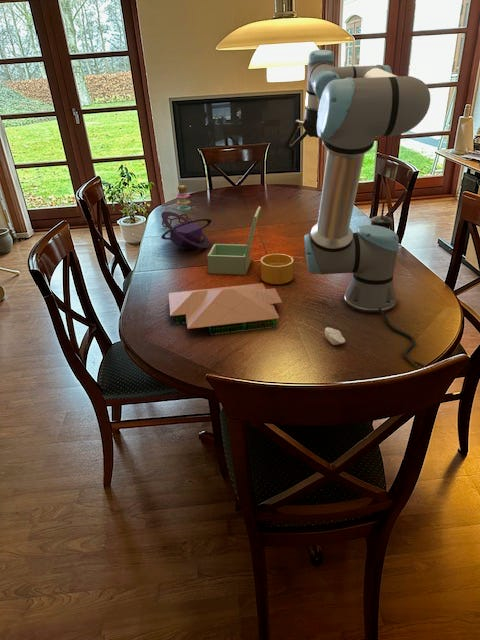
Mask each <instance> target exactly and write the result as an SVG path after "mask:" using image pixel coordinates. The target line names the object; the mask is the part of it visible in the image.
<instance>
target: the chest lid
mask: <svg viewBox="0 0 480 640" xmlns="http://www.w3.org/2000/svg"><path fill="white" fill-rule="evenodd" d="M261 208H262V207H261V206H258V207H257V209H256V211H255V213H254V215H253V220H252V223H251V227H250V231H249V235H248V238H247V243H246V245H247V247H246V251H245V256H247V253H248V251H249V248H250V249H251V246H252V242H253V238H254V235H255V231H256V227H257V223H258V220H259V217H260V213H261V212H260V211H261Z"/></svg>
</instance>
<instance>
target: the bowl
mask: <svg viewBox="0 0 480 640" xmlns="http://www.w3.org/2000/svg"><path fill="white" fill-rule="evenodd" d="M294 263H295V259H294V258H293V256H290V255H288V254H284V253H270V254H266V255H264V256H262V257H261V258H260V279H261V280H262V281H263V282H264V283H267V284H270V285H283V284H287V283H290V282H291V281H292V280H293V279H294V265H295V264H294Z"/></svg>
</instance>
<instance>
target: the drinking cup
mask: <svg viewBox="0 0 480 640" xmlns="http://www.w3.org/2000/svg"><path fill="white" fill-rule="evenodd" d="M385 204H386V202H385V201H383V202H382V206H381V213H380V214H379V215H375V216H373V217H371V218H370V222H371V223H370V225H376V226H381V227H385V228H388V229H390V230H391V226H392V223H393V218H391V217H390V216H387V215H384V213H385V212H384V211H385Z"/></svg>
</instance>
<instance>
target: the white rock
mask: <svg viewBox="0 0 480 640" xmlns="http://www.w3.org/2000/svg"><path fill="white" fill-rule="evenodd" d="M324 336H325V338H326V340H327V341H328V342H329V343H330V344H331V345H333V346H339V345H342V344H345V343H346V339H345V338H344V336H343V335H342V332H341V331H340V330H338V329H335V328H333V327H329V326H327V327H325V328H324Z"/></svg>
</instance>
